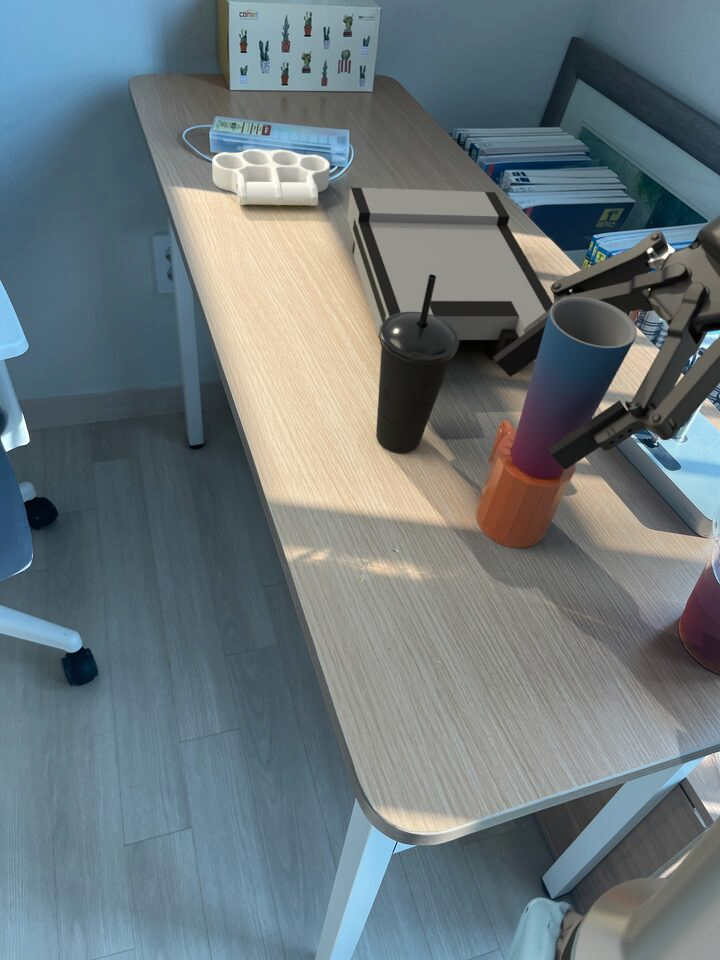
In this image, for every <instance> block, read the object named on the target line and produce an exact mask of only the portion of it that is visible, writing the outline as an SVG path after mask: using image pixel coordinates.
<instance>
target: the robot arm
mask: <svg viewBox="0 0 720 960" xmlns="http://www.w3.org/2000/svg"><path fill="white" fill-rule="evenodd" d="M653 270H654V271H653ZM550 290H551V292H552V294H553V304H554V303H555V302H557V301H559V300H561V299H564V298H569V297H586V298H592V299H596V300H600V301H603V302H606V303H608V304H610V305H613V306H615V307H616V308H618V309H620V310H621V311H623V312H624V313H625V314H627V313H631V312H635V311H643V312H646V313H647V312H654V313H655V314H656V315H657V316H658V317H659V319H661V320H663V321H665V324H666V325H667V326H668V327H667V332H666V333H667V335H666V338H665V339H664V342H663V343H662V345H661V347H660V349H659V351H658V353H657V354H656V356H655V358H654V360H653V362H652V364H651V365H650V367H649V369H648V371H647V372H646V375H645V376H644V378H643V380H642V381H641V384H640V385H639V387H638V388H637V391H636V393H635V395H634V396H633V398H632V400H631V401H628V400H625V403H624V404H623V402H622V401H621V400H620V399H619V400H618V401H616V402H615V403H613V404H611V405H610V406H609V407H607V408H606V409H604V410H603V411H601V412H600V413H599V414H597V415H594V416H593V417H592V419H591V420H590V421H588V422H587V423H585V424H584V425H582V426H581V427H579V428H578V429H576V430H575V431H573V432H572V433H570V434H569V435H567V436H566V437H564V438H563V439H562V440H560V441H559V442H557V443H556V444H554V445H553V446H551V447H550V448H548V451H549V452H550V454H551V456H552V457H553V458H554V459H555V460H556V461H557V462H558V463H559V464H560V465H561V466H562V467H563V468H564V469H565V470H566V469H567V468H569V467H570V466H572V465H573V464H575V465H576V463H578V462H580V461H581V460H583V459H584V458H585V457H587V456H589V455H591V454H592V453H594V451H596V450H598V449H600V448H601V449H602V450H603V452H606V451H609V450H612V449H614V448H615V447H617V446H618V445H620V444H621V443H622V442H624V441H626V440H627V439H629V438H630V437H632V436H633V435H635V434H637V433H638V432H640V431H649V432H651V433H653V434H655V435H656V436H657V437H658V439H660V440H662V441H669V440H672V438H673V437H674V436H675V435H676V434H677V433H678V432H679V430H680V429H681V428H682V427H683V426H684V425H685V424H686V423H687V421H689V419H690V418H691V417H692V416H693V414H694V413H695V412H696V411H697V410H698V409H699V407H700V406H701V405H702V404H703V403H704V402H705V401H706V399H707V398H708V397H710V395H711V394H712V393H713V392H714V390H716V388H717V387H718V386H719V384H720V334H718V337H717V338H716V339H715V340H714V341H713V342H712V343H711V344H710V345H709V346H708V347H707V348H706V349H705V351H704V352H702V354H701V355H700V356H699V358H697V360H696V361H695V362H694V363H693V365H692V366H691V367H689V369H688V371H686V373H685V374H684V375H683V376H682V377H681V375H682V373H683V372H684V369H685V368H686V366H687V364H688V363H689V361H690V360H691V357H692V356H695V355H696V354H697V353H698V351H699V349H700V347H701V345H702V343H703V341H704V340H705V338H706V336H707V334H708V333H711V332H719V331H720V214H719V215H718V216H716V217H715V218H713V219H712V220H711V221H709V222H708V223H707V224H705V225H704V226H703V227H702V228H700V229H699V231H698V233H697V235H696V237H695V239H694V240H693V241H692V242H691V244H689V245H687V246H685V247H683V248H680V249H676V250H675V249H674V248H673V247H672V246H671V245H670V244H669V242H668V241H667V239H666V237H665V236H664V233H663V231H661V230H655V231H653V232H651V233H650V234H648V235H647V236H646V237H644V239H642V240H641V241H639V242H637V243H636V244H635V245H634V246H632V247H630V248H627V249H625V250H623V251H621V252H619V253H616V254H614V255H612V256H609V257H608V258H605V259H603V260H601V261H599V262H596V263H594V264H592V265H590V266H587V267H585V268H582V269H580V270H578V271H576V272H574V273H572V274H569V275H567V276H565V277H563V278H561V279H558V280H556V281H555V282H553V283H552V285H551V286H550ZM550 309H551V308H550ZM550 309H549V310H548V311H547V312H545V313H544V314H543V315H541V316H540V317H539V318H537V319H536V320H535V321H533V322H532V323H531V324H529V325H528V326H527V327H526V328H525V330H524V332H525V334H523V335H522V336H521V337H519V338H518V339H517V340H515V341H514V342H513V343H511V344H510V345H509V346H507V347H506V348H505V349H503V350H502V351H501V352H499V353H498V354H497V355H495V356H494V357H493V358H494V362H495V363H496V364H497V365H498V366H499V367H500V369H502V371H503V372H504V373H505V374H506V375H507V376H508V377H509V378H512V377H513V376H515V375H516V374H517V373H518V372H520V371H522V370H523V369H524V368H525V367H527V366H529V365H530V364H531V363H532V362H535V361H534V360H535V359H536V358H537V355H538V352H539V348H540V344H541V341H542V337H543V333H544V330H545V326H546V322H547V319H548V315H549V312H550ZM680 378H681V379H680ZM514 933H515V934H514V936H513V939H512V942H511V946H510V949H509V952H508V956H507V959H506V960H720V815H718V816H717V818H716V819H715V820H714V821H713V822H712V824H711V825H710V826H709V828H708V829H707V830H706V832H705V833H704V834H703V835H702V836H701V838H699V840H698V841H697V842H696V844H695V845H694V846H693V848H692V849H691V850H690V851H689V852H688V854H687V855H686V856H685V857H684V858H683V860H682V861H681V862H680V864H679V865H678V866H677V867H676V868H675V870H674V871H673V872H672V873H671V874H670V875H669V877H668V878H667V877H659V876H658V877H641V878H634V879H628V880H626V881H624V882H621V883H618V884H616V885H614V886H613V887H611V888H610V889H608V890H606V891H605V892H604V893H602V894H601V895H600V896H599V897H598V898H597V899H596V900H595V901H594V902H593V903H592V905H591V906H590V907H589V908H588V910H587V911H586V912H585V914H584V915H581V914H580V913H577V912H576V911H575V910H574V907H573V905H571V904H569V903H568V902H566V901H555V900H552V899H550V898H546V897H535V898H534V899H532V900H530V901H529V903H527V904H526V906H525V908H524V909H523V912H522V913H521V917H520V919H519V921H518V924H517V927H516V930H515V932H514Z"/></svg>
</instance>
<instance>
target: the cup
mask: <svg viewBox="0 0 720 960" xmlns="http://www.w3.org/2000/svg"><path fill="white" fill-rule="evenodd" d="M637 335H638V330H637V327H636V325H635V322H634V321H633V320H632V318H631V317H630V316H629V315H628V314H627V313H624V312H623V311H621V310H620V309H618V308H616V307H615V306H613V305H610V304H608V303H606V302H603V301H600V300H596V299H592V298H586V297H569V298H564V299H561V300H559V301H557V302H555V303H554V302H553V305H552V307H551V309H550V312H549V315H548V319H547V322H546V326H545V330H544V333H543V337H542V341H541V344H540V348H539V352H538V355H537V359H536V361H534V367H533V370H532V373H531V377H530V380H529V384H528V387H527V391H526V396H525V398H524V403H523V405H522V410H521V414H520V417H519V418H520V419H519V420H518V425H517V429H516V435H515V439H514V442H513V446H512V450H511V458H512V461H513V463H514V464H515V466H516V467H517V468H518V469H520V470H521V471H522V472H524V473H525V474H527V475H530V476H532V477H535V478H541V479H550V478H554V477H557V476H559V475H560V474H561V473H562V472H563V471H564V468H563V467H562V466H561V465H560V464H559V463H558V462H557V461H556V460H555V459H554V458H553V457H552V456H551V454H550V452H549V451H548V448H550V447H551V446H553V445H554V444H556V443H557V442H559V441H560V440H562V439H563V438H564V437H566V436H567V435H569V434H570V433H572V432H573V431H575V430H576V429H578V428H579V427H581V426H582V425H584V424H585V423H587V422H588V421H590V420H591V419H593V418H594V417H595V414H596V412H597V410H598V409H599V406H600V405H601V402H602V401H603V399H604V397H605V395H606V394H607V392H608V390H609V388H610V386H611V384H612V383H613V381H614V379H615V378H616V375H617V374H618V372H619V370H620V368H621V366H622V364H623V363H624V361H625V359H626V357H627V355H628V353H629V351H630V349H631V348H632V346H633V345H634V342H635V341H636V338H637Z"/></svg>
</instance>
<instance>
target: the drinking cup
mask: <svg viewBox="0 0 720 960" xmlns="http://www.w3.org/2000/svg"><path fill="white" fill-rule="evenodd" d="M435 281H436V276H435V275H432V274H431V275H429V277H428V282H427V287H426V292H425V296H424V301H423V306H422V311H421V312H401V313H397V314H394V315H392V316H390V317H388V318H387V319H386V320H385V321H384V322H383V324H382V325H381V328H380V339H381V341H382V346H381V351H380V366H379V380H378V381H379V383H378V401H377V413H376V415H377V417H376V430H375V432H376V433H375V436H376V441H377V442H378V443H379V445H380V446H381V447H382V448H384V449H385V450H387V451H388V452H392V453H395V454H408V453H411V452H413V451H415V450H416V449H417V448H418V447H419V446H420V443H421V441H422V438H423V436H424V433H425V430H426V428H427V426H428V422H429V419H430V417H431V414H432V411H433V408H434V406H435V404H436V401H437V399H438V395H439V393H440V390H441V387H442V385H443V382H444V379H445V376H446V375H447V371H448V368H449V366H450V363H451V361H452V358H453V357H454V355H455V354H456V353H457V352H458V349H459V346H460V340H459V337H458V334H457V332H456V331H455V329H454V328H453V327H452V326H451V325H450V324H449V323H447V322H446V321H444V320H443V319H441V318H439V317H436V316H434V315H431V314H428V313H429V308H430V303H431V299H432V294H433V290H434V285H435Z"/></svg>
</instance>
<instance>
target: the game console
mask: <svg viewBox="0 0 720 960" xmlns="http://www.w3.org/2000/svg"><path fill="white" fill-rule="evenodd" d="M349 190H350V191H349V198H348V205H347V206H348V207H347V216H346V220H347V223H348V226H349V229H350V232H351V236H352V239H353V243H352V249H351V251H352V254H353V258H354V261H355V264H356V265H355V266H356V268H357V271H358V275H359V278H360V282H361V284H362V288H363V291H364V295H365V298H366V301H367V304H368V307H369V310H370V311H369V312H370V314H371V318H372V321H373V324H374V328H375V330H376V334H377V337H378V340H379V343H380V347H382V341H381V339H380V328H381V325H382V324H383V322H384V321H385V320H386V319H387V318H388V317H390V316H392V315H394V314H397V313H401V312H421V311H422V306H423V301H424V296H425V292H426V287H427V282H428V277H429V275H431V274H432V275H435V276H436V281H435V285H434V290H433V294H432V299H431V303H430V308H429V313H428V314H431V315H434V316H436V317H439V318H441V319H443V320H444V321H446V322H447V323H449V324H450V325H451V326H452V327H453V328H454V329H455V331H456V332H457V334H458V337H459V341H480V343H481V345H482V347H483V349H484V351H485V354H486V356H487V358H488V360H491V361H493V360H494V358H493V357H494V356H495V355H497V354H498V353H499V352H501V351H502V350H503V349H505V348H506V347H507V346H509V345H510V344H511V343H513V342H514V341H515V340H517V339H518V338H519V337H521V336H522V335H523V334H525V332H524V330H525V328H526V327H527V326H528V325H529V324H531V323H532V322H533V321H535V320H536V319H537V318H539V317H540V316H541V315H543V314H544V313H545V312H547V311H548V310H549V309H550V308H551V307H552V305H553V304H554V302H553V301H552V299H551V297H550V296H549V294H548V292H547V291H546V289H545V287H544V286H543V284H542V282H541V280H540V279H539V277H538V275H537V273H536V272H535V270H534V268H533V267H532V265H531V263H530V261H529V259H528V258H527V256H526V255H525V253H524V251H523V249H522V248H521V246H520V244H519V242H518V241H517V239H516V238H515V236H514V234H513V233H512V231H511V229H510V227H509V225H508V224H509V220H510V214H509V213H508V212H507V210H506V208H505V206H504V205H503V203H502V201H501V199H500V197H499V196H498V195H497V193H496V192H495V191H472V190H471V191H470V190H469V191H465V190H442V189H441V190H436V189H410V188H409V189H408V188H383V187H382V188H379V187H378V188H377V187H352V186H351V187H350V189H349ZM536 359H537V358H536ZM536 359H535V360H534V361H533V362H536ZM494 361H495V360H494Z"/></svg>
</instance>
